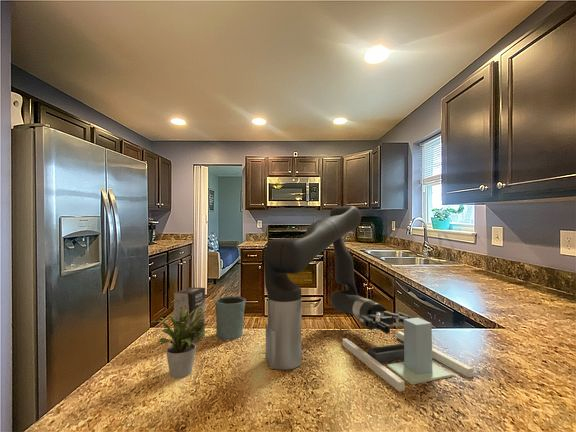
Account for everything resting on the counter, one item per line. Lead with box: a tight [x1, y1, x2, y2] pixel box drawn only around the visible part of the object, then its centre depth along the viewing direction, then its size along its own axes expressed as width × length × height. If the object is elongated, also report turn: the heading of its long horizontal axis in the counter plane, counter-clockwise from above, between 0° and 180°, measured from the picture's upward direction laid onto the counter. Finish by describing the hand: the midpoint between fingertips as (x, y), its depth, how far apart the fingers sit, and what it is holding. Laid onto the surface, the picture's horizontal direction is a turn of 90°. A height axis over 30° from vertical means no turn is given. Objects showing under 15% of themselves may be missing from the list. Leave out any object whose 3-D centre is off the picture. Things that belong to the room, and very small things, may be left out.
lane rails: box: [342, 331, 474, 392], centre depth 79 cm, size 22×26×2 cm
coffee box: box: [172, 287, 206, 344], centre depth 93 cm, size 9×6×16 cm
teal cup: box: [214, 295, 246, 341], centre depth 97 cm, size 10×10×12 cm
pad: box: [386, 361, 453, 385], centre depth 72 cm, size 12×9×1 cm
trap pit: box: [367, 342, 404, 364], centre depth 80 cm, size 16×4×2 cm, turn 107°
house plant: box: [152, 306, 211, 379], centre depth 70 cm, size 14×14×16 cm
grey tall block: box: [403, 317, 433, 375], centre depth 73 cm, size 5×5×12 cm
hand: (402, 328), depth 78 cm, fingers open, 8 cm apart
